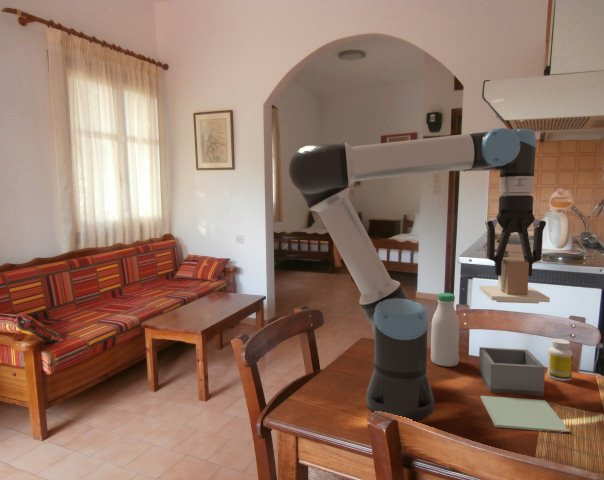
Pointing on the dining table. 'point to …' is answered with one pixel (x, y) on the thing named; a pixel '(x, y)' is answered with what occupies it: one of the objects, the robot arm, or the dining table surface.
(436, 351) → the milk bottle
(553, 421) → the mat
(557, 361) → the supplement bottle
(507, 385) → the box
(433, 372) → the dining table surface
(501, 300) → the lid
